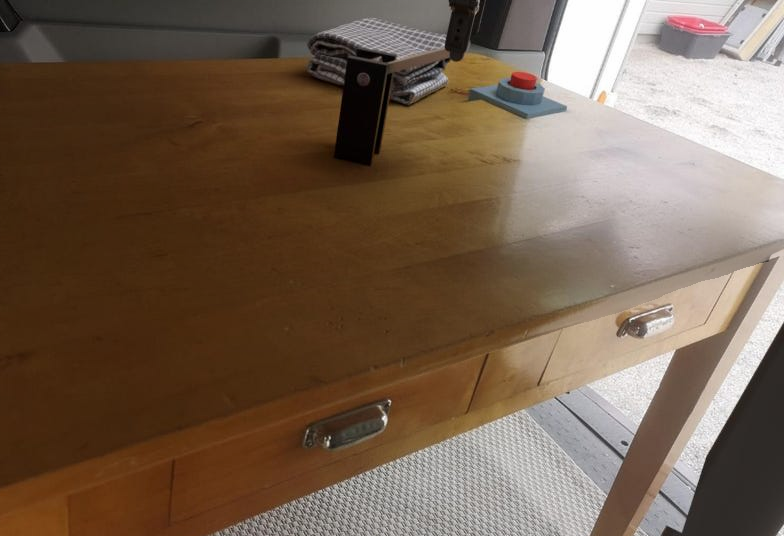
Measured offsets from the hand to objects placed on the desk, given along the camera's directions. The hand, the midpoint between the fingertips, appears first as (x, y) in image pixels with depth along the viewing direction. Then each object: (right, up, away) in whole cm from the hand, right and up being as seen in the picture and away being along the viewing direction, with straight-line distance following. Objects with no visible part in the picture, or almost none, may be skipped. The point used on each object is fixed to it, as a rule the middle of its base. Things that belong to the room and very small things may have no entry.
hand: (461, 42), depth 79 cm
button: (+15, +6, +32) cm, 36 cm away
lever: (-4, -2, +3) cm, 6 cm away
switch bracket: (-10, -10, +11) cm, 18 cm away
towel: (-5, +8, +38) cm, 39 cm away
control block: (+15, +3, +34) cm, 37 cm away
